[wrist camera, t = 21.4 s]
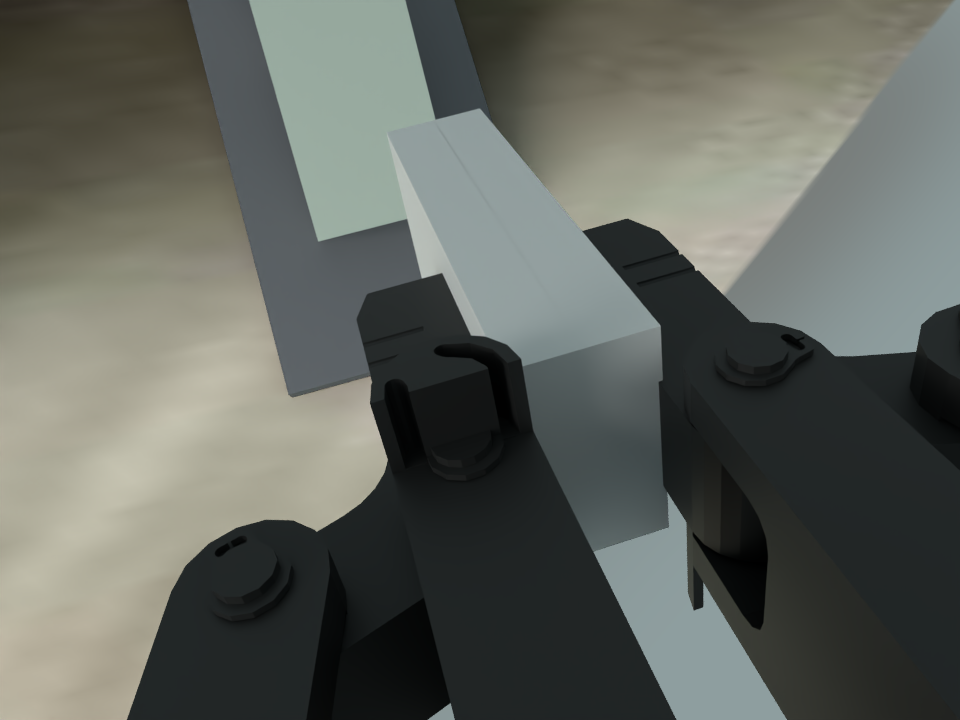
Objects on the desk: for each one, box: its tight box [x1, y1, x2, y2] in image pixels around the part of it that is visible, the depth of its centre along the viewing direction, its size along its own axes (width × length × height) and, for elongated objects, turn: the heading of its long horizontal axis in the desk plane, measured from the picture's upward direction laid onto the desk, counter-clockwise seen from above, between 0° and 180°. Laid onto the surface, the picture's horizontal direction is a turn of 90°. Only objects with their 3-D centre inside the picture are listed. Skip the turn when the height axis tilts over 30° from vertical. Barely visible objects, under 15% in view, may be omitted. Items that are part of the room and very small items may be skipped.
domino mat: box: [187, 0, 493, 397], centre depth 32 cm, size 10×25×1 cm, turn 16°
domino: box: [249, 0, 435, 242], centre depth 29 cm, size 5×2×10 cm
